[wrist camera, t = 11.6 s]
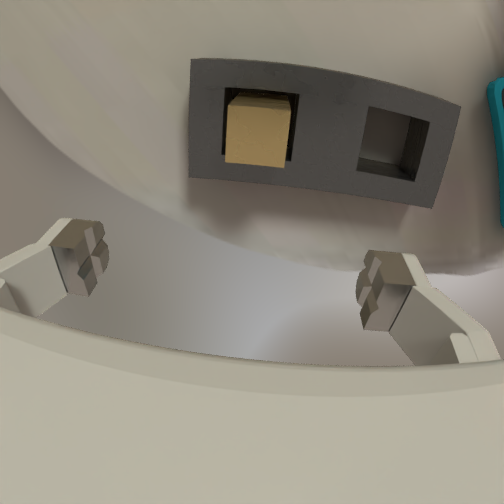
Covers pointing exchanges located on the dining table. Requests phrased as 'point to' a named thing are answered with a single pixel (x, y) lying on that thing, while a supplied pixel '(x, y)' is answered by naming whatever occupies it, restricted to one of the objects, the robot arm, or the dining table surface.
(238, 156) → the peg
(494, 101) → the ice cube tray
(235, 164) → the block with square holes
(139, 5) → the dining table surface
